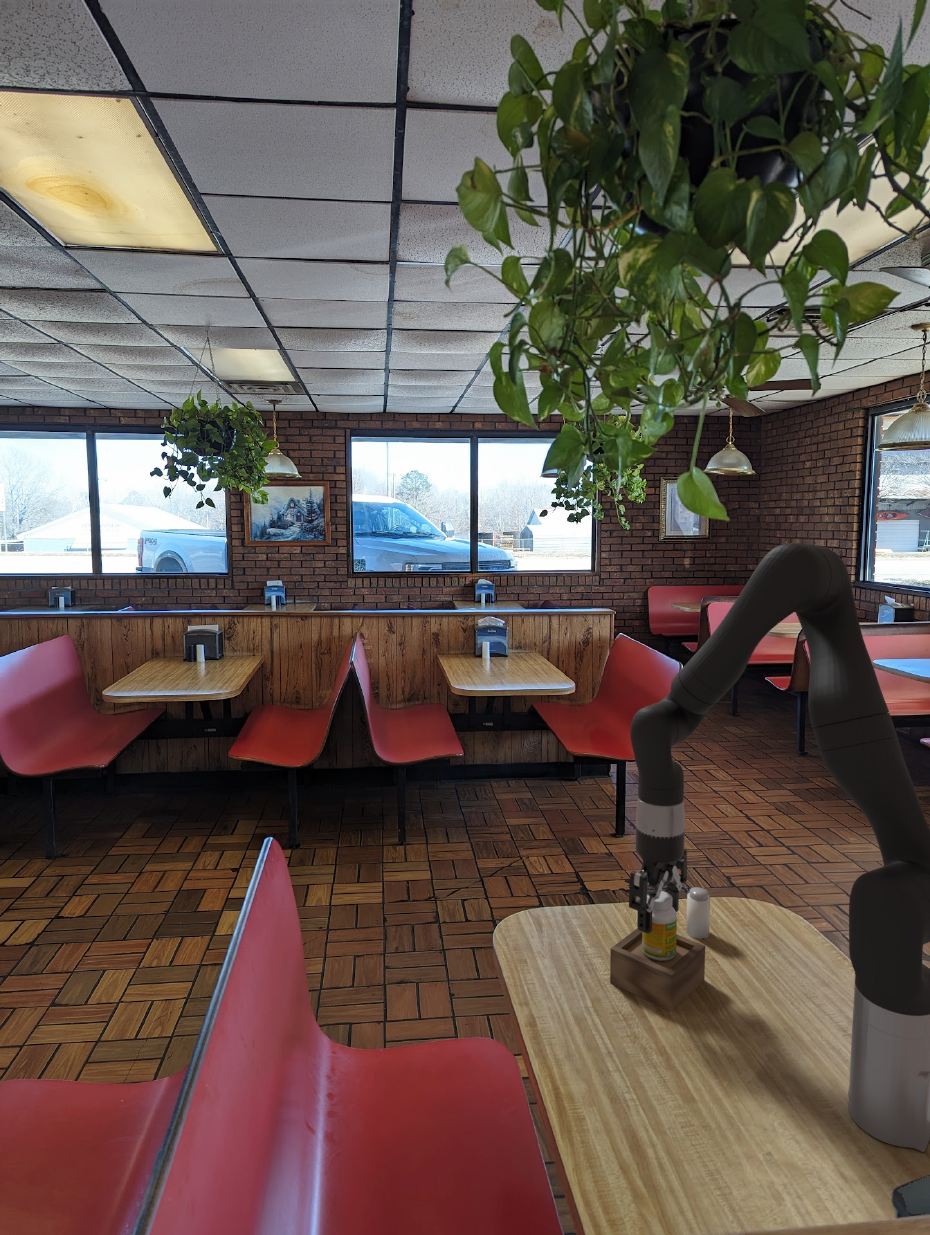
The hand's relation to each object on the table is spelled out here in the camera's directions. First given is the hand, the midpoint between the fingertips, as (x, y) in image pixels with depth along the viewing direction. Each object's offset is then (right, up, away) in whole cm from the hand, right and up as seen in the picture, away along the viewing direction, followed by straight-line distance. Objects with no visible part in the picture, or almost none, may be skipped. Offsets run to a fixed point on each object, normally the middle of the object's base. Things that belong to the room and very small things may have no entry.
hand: (658, 920), depth 124 cm
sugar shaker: (+11, -8, +16) cm, 21 cm away
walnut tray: (0, -11, +1) cm, 11 cm away
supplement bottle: (0, -6, +1) cm, 6 cm away
